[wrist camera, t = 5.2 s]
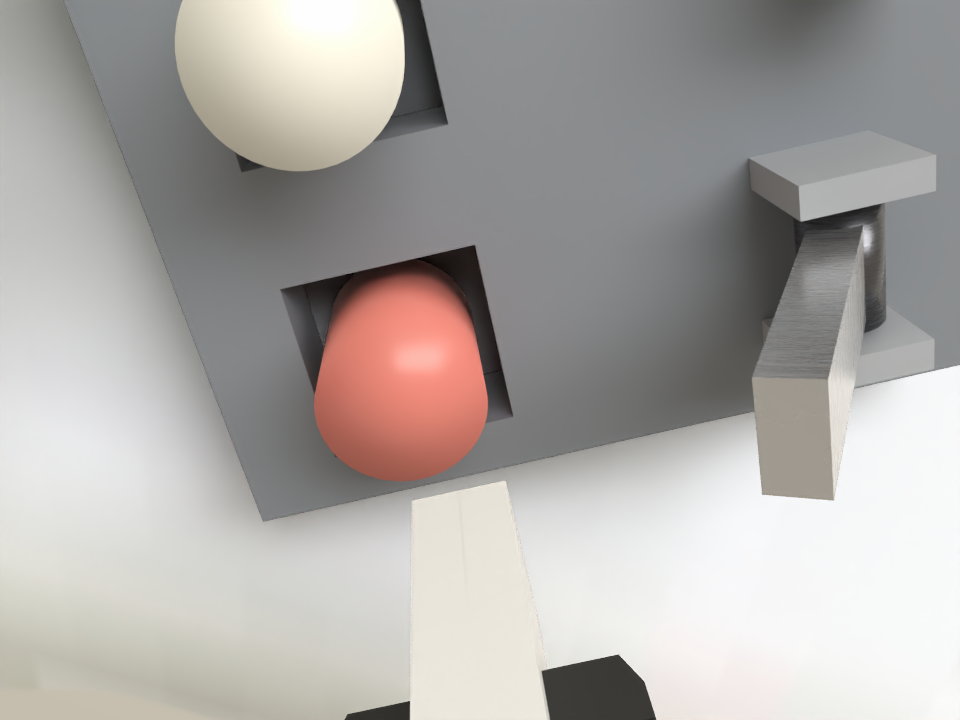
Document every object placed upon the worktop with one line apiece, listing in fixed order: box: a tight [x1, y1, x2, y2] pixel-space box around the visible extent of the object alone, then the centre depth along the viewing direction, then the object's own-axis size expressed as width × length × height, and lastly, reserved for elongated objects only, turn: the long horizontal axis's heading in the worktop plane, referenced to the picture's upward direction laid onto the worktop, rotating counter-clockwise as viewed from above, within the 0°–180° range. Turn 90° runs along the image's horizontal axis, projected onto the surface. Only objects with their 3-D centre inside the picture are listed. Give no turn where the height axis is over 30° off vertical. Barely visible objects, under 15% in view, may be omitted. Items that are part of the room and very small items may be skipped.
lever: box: [752, 203, 887, 500], centre depth 19 cm, size 2×3×9 cm, turn 13°
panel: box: [64, 0, 960, 522], centre depth 21 cm, size 20×16×6 cm
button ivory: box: [175, 0, 405, 171], centre depth 18 cm, size 4×4×5 cm
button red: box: [314, 259, 488, 481], centre depth 23 cm, size 4×4×5 cm
